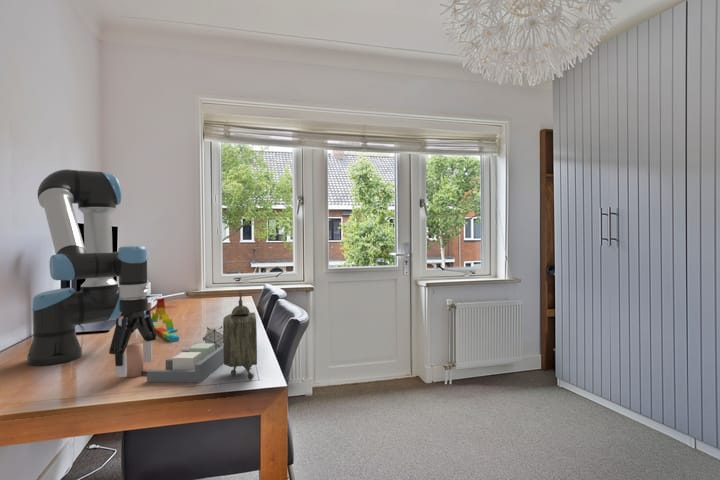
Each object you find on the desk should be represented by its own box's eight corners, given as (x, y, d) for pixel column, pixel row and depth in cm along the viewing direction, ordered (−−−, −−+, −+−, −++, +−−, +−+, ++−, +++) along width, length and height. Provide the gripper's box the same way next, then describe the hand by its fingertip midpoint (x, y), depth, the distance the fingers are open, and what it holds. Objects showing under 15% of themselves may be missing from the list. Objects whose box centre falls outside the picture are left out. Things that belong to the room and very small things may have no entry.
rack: (147, 381, 121) (146, 364, 121) (183, 358, 143) (183, 343, 143) (200, 382, 120) (200, 364, 120) (229, 358, 142) (228, 343, 142)
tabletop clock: (257, 380, 121) (256, 293, 120) (223, 384, 118) (222, 294, 118) (254, 365, 134) (253, 286, 134) (225, 368, 132) (223, 288, 131)
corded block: (122, 378, 124) (121, 347, 124) (134, 371, 130) (133, 342, 130) (193, 378, 123) (192, 347, 123) (201, 371, 129) (201, 342, 129)
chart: (179, 341, 167) (179, 303, 167) (171, 342, 165) (170, 304, 165) (157, 328, 190) (156, 295, 190) (149, 329, 188) (149, 295, 188)
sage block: (189, 367, 134) (188, 348, 134) (197, 361, 140) (197, 343, 140) (207, 367, 134) (207, 348, 133) (215, 361, 140) (214, 343, 139)
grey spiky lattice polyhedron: (217, 360, 153) (217, 342, 147) (197, 350, 155) (196, 332, 149) (232, 342, 160) (232, 325, 154) (212, 334, 162) (212, 316, 156)
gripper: (120, 305, 114) (121, 383, 114) (167, 291, 139) (168, 356, 139) (93, 305, 114) (95, 383, 115) (144, 292, 139) (146, 356, 140)
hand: (135, 368), depth 127 cm, fingers open, 13 cm apart
